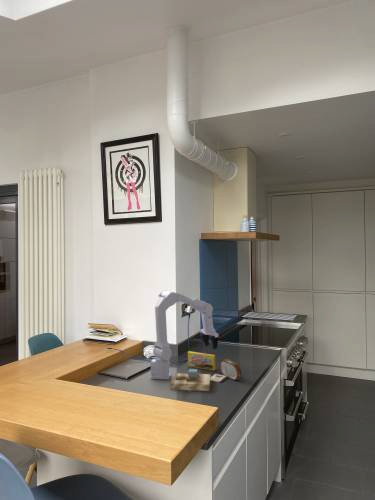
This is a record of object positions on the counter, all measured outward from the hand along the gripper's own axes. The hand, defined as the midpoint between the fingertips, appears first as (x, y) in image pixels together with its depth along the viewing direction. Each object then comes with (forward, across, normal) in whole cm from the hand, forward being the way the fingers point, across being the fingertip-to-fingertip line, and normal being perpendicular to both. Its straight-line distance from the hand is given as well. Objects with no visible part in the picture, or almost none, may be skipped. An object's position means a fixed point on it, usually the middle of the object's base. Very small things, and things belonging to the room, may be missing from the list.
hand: (211, 347), depth 210 cm
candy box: (+10, 0, +8) cm, 13 cm away
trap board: (+6, -18, +27) cm, 33 cm away
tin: (+10, -21, +5) cm, 24 cm away
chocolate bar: (+10, -16, +8) cm, 20 cm away
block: (+3, -19, +26) cm, 32 cm away
